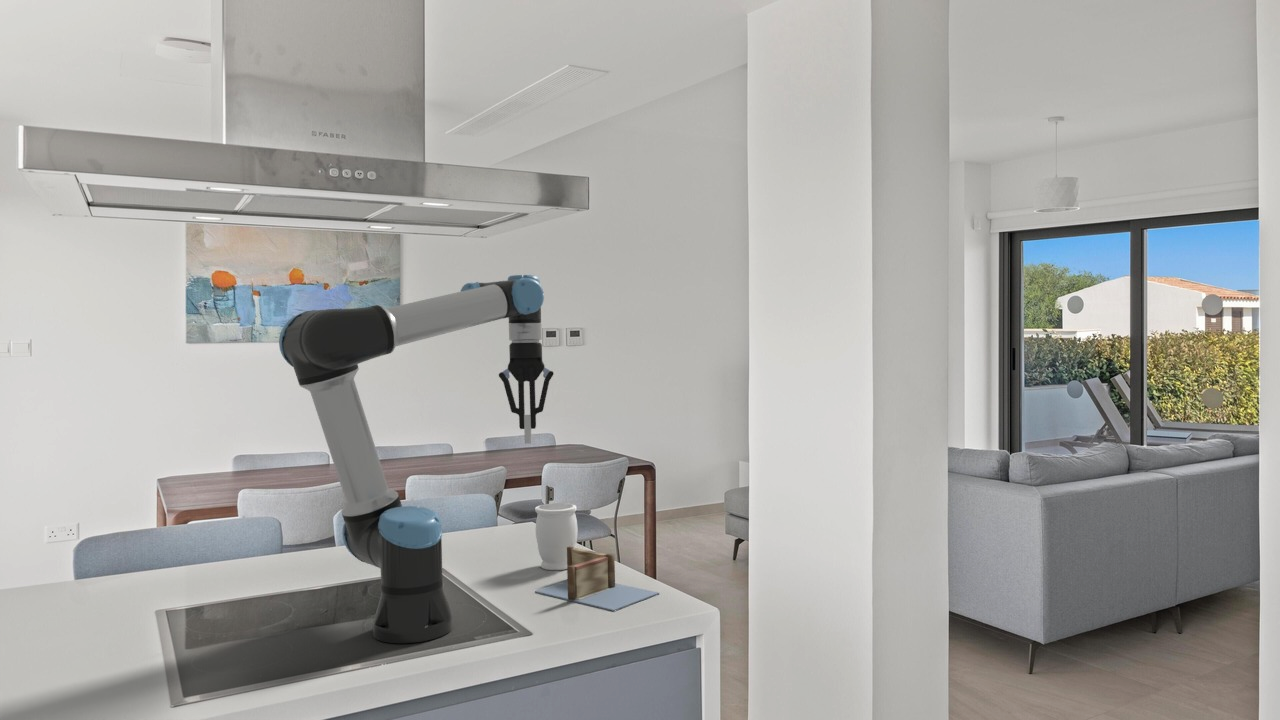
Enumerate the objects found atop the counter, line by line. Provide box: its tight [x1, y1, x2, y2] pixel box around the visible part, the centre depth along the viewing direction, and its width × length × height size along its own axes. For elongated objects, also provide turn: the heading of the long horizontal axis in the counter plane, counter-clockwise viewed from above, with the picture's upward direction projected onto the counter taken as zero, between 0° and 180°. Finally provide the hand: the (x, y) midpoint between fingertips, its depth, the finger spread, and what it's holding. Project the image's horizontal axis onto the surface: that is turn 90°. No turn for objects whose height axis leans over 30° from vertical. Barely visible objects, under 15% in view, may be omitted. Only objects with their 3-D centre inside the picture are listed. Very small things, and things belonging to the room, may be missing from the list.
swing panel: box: [566, 557, 608, 600], centre depth 191 cm, size 12×2×7 cm, turn 140°
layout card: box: [535, 580, 660, 612], centre depth 193 cm, size 24×15×1 cm, turn 50°
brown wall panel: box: [567, 547, 616, 588], centre depth 201 cm, size 14×2×8 cm, turn 50°
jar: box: [534, 502, 579, 571], centre depth 217 cm, size 11×10×15 cm
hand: (528, 442), depth 204 cm, fingers closed
